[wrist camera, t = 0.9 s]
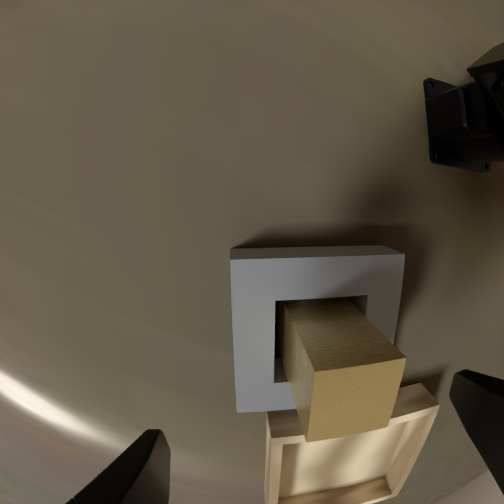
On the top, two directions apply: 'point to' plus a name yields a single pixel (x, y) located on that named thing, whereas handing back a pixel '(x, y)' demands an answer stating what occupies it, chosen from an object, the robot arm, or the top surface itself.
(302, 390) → the pin
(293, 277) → the frame
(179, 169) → the top surface
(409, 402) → the tray
